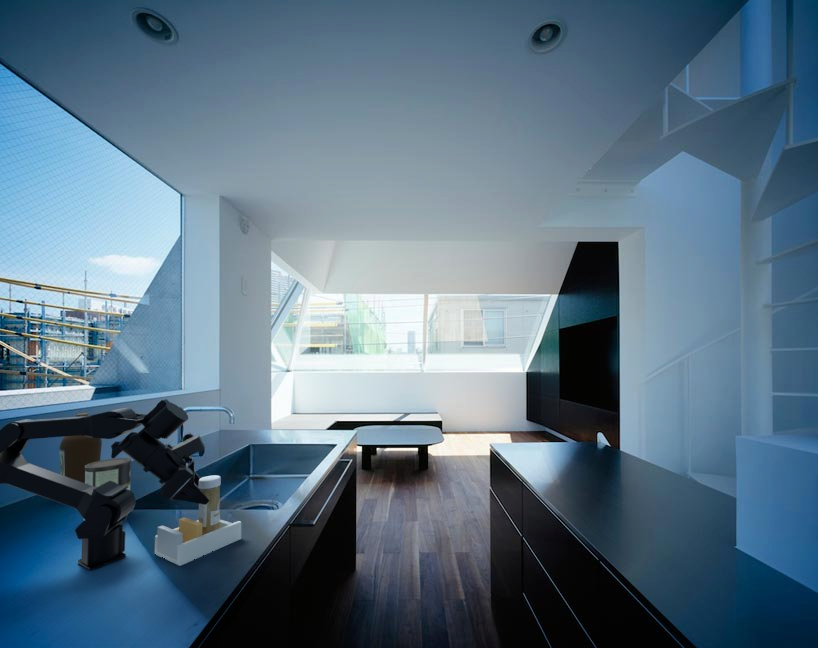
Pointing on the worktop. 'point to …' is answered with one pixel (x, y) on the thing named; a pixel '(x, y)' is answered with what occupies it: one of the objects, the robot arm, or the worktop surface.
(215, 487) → the sprinkles bottle
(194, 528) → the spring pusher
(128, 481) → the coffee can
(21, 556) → the worktop surface
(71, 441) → the olive oil
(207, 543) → the tray
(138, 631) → the worktop surface
